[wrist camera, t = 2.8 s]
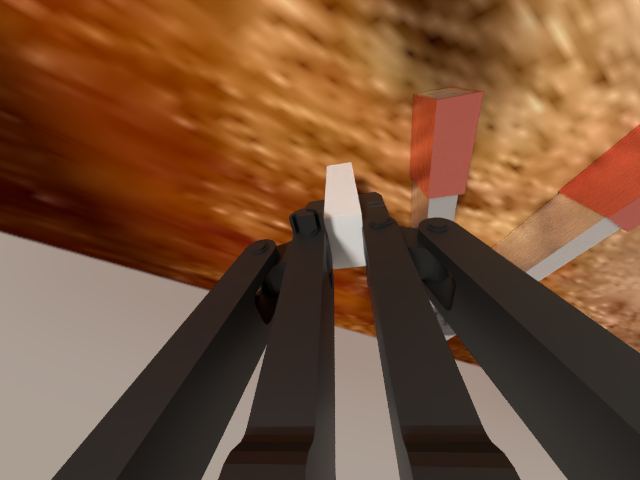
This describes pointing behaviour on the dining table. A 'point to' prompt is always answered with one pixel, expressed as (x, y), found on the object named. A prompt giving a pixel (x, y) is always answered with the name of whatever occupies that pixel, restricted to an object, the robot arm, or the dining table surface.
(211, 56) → the dining table surface
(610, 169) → the tongs fixed
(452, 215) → the tongs arm
